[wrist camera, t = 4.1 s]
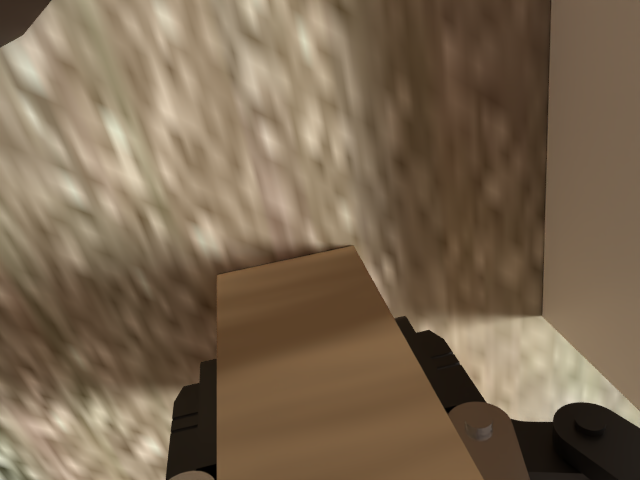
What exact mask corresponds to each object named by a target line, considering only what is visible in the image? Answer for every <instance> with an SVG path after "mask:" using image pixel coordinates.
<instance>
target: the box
mask: <svg viewBox="0 0 640 480" xmlns="http://www.w3.org/2000/svg"><path fill="white" fill-rule="evenodd" d="M542 317H543V318H544V319H545V320H546V321H547V322H548V323H550V324H551V325H552V326H553V327H554V328H555V329H556V330H557V331H558V332H559V333H560V334H561V335H562V336H563V337H564V338H565V339H566V340H567V341H568V342H569V343H570V344H571V345H572V346H573V347H574V348H575V349H576V350H577V351H578V352H579V353H580V354H581V355H583V356H584V357H585V358H586V359H587V360H588V361H589V362H590V363H591V364H592V365H593V366H594V367H595V368H596V369H597V370H598V371H599V372H600V373H601V374H602V375H603V376H604V377H605V378H606V379H607V380H608V381H609V382H610V383H611V384H612V385H613V386H614V387H616V388H617V389H618V390H619V391H620V392H621V393H622V394H623V395H624V396H625V397H626V398H627V399H628V400H629V401H630V402H631V403H632V404H633V405H634V406H635V407H636V408H637V409H638V410H639V411H640V0H551V32H550V67H549V102H548V137H547V172H546V207H545V242H544V278H543V313H542Z"/></svg>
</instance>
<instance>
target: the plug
mask: <svg viewBox="0 0 640 480" xmlns="http://www.w3.org/2000/svg"><path fill="white" fill-rule="evenodd" d="M217 480H484V479H483V477H482V476H481V474H480V472H479V470H478V468H477V467H476V465H475V463H474V461H473V459H472V458H471V456H470V454H469V452H468V450H467V449H466V447H465V445H464V443H463V441H462V440H461V438H460V436H459V434H458V433H457V431H456V429H455V427H454V425H453V424H452V422H451V420H450V418H449V416H448V415H447V413H446V411H445V409H444V407H443V406H442V404H441V402H440V400H439V398H438V397H437V395H436V393H435V391H434V389H433V388H432V386H431V384H430V382H429V380H428V379H427V377H426V375H425V373H424V371H423V370H422V368H421V366H420V364H419V362H418V361H417V359H416V357H415V355H414V353H413V352H412V350H411V348H410V346H409V344H408V343H407V341H406V339H405V337H404V336H403V334H402V332H401V330H400V328H399V327H398V325H397V323H396V321H395V319H394V318H393V316H392V314H391V312H390V310H389V309H388V307H387V305H386V303H385V301H384V300H383V298H382V296H381V294H380V292H379V291H378V289H377V287H376V285H375V283H374V282H373V280H372V278H371V276H370V274H369V273H368V271H367V269H366V267H365V265H364V264H363V262H362V260H361V258H360V256H359V255H358V253H357V251H356V249H355V247H354V246H349V247H344V248H340V249H335V250H330V251H326V252H321V253H316V254H312V255H307V256H302V257H298V258H293V259H288V260H284V261H279V262H274V263H270V264H265V265H261V266H256V267H251V268H247V269H242V270H237V271H233V272H228V273H223V274H219V275H217Z"/></svg>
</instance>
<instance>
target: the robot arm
mask: <svg viewBox="0 0 640 480" xmlns="http://www.w3.org/2000/svg"><path fill="white" fill-rule="evenodd" d="M394 319H395V321H396V323H397V325H398V327H399V328H400V330H401V332H402V334H403V336H404V337H405V339H406V341H407V343H408V344H409V346H410V348H411V350H412V352H413V353H414V355H415V357H416V359H417V361H418V362H419V364H420V366H421V368H422V370H423V371H424V373H425V375H426V377H427V379H428V380H429V382H430V384H431V386H432V388H433V389H434V391H435V393H436V395H437V397H438V398H439V400H440V402H441V404H442V406H443V407H444V409H445V411H446V413H447V415H448V416H449V418H450V420H451V422H452V424H453V425H454V427H455V429H456V431H457V433H458V434H459V436H460V438H461V440H462V441H463V443H464V445H465V447H466V449H467V450H468V452H469V454H470V456H471V458H472V459H473V461H474V463H475V465H476V467H477V468H478V470H479V472H480V474H481V476H482V477H483V479H484V480H640V428H638V427H637V426H635V425H634V424H632V423H630V422H629V421H627V420H626V419H624V418H622V417H621V416H619V415H617V414H616V413H614V412H613V411H611V410H609V409H607V408H605V407H602V406H600V405H596V404H592V403H583V402H580V403H571V404H568V405H565V406H563V407H561V408H560V409H559V410H558V411H557V412H556V413H555V415H554V418H553V422H525V421H518V420H513V419H510V418H509V416H508V415H507V414H506V413H505V412H504V411H503V410H502V409H500V408H498V407H497V406H494V405H492V404H489V403H486V401H485V400H484V398H483V397H482V395H481V394H480V392H479V391H478V389H477V388H476V386H475V385H474V383H473V382H472V380H471V379H470V377H469V376H468V374H467V373H466V371H465V370H464V368H463V367H462V365H460V363H459V361H458V359H457V358H456V356H455V355H453V352H452V351H451V349H450V348H449V346H448V345H447V343H446V342H445V340H444V339H443V338H441V337H440V336H438V335H436V334H435V333H433V332H432V331H430V330H427V331H422V332H418V333H416V332H415V331H414V329H413V327H412V326H411V324H410V322H409V321H408V319H407V317H406V316H403V317H398V318H394ZM172 419H173V421H172V426H171V435H170V444H169V454H168V463H167V472H166V480H217V359H213V360H209V361H204V362H201V365H200V383H197V384H192V385H188V386H184V387H183V388H182V390H181V392H180V393H179V395H178V397H177V398H176V400H175V401H174V407H173V416H172Z"/></svg>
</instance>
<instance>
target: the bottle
mask: <svg viewBox="0 0 640 480" xmlns="http://www.w3.org/2000/svg"><path fill="white" fill-rule="evenodd" d="M50 1H51V0H0V47H2V46H4V45H6V44H7V43H9V42H11V41H13V40H15V39H16V38H18V37H20V36H22V35H23V34H24V33H25V32H26V31H27V29H28V28H29V27H30V26H31V24H32V23H33V22H34V21H35V20H36V18H37V17H38V16H39V15H40V13H41V12H42V11H43V10H44V9H45V7H46V6H47V5H48V4H49V3H50Z"/></svg>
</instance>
